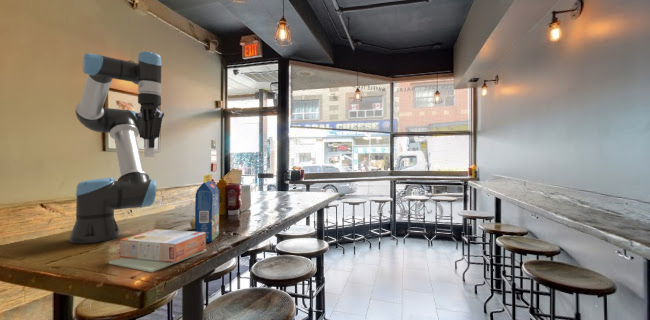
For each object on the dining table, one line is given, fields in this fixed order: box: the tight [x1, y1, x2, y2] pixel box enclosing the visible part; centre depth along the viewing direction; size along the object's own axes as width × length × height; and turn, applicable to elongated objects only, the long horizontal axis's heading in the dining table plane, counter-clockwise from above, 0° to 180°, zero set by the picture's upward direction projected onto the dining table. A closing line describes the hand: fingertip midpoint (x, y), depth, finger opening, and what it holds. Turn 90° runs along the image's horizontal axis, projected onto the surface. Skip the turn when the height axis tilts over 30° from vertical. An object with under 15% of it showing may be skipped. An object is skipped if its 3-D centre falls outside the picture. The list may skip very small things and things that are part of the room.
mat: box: [108, 248, 208, 273], centre depth 92 cm, size 18×20×1 cm
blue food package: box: [194, 174, 220, 243], centre depth 115 cm, size 6×12×25 cm, turn 8°
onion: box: [189, 216, 195, 231], centre depth 130 cm, size 8×8×7 cm
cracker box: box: [119, 228, 207, 264], centre depth 94 cm, size 14×6×21 cm
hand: (149, 156), depth 110 cm, fingers closed
